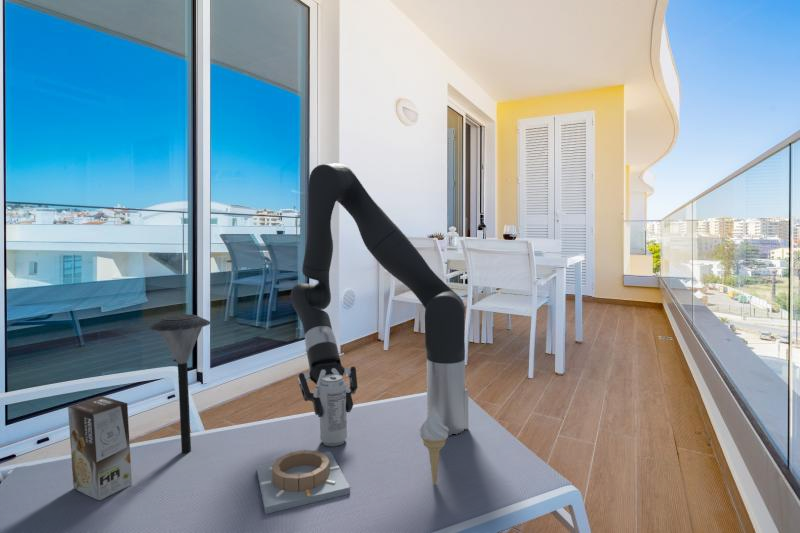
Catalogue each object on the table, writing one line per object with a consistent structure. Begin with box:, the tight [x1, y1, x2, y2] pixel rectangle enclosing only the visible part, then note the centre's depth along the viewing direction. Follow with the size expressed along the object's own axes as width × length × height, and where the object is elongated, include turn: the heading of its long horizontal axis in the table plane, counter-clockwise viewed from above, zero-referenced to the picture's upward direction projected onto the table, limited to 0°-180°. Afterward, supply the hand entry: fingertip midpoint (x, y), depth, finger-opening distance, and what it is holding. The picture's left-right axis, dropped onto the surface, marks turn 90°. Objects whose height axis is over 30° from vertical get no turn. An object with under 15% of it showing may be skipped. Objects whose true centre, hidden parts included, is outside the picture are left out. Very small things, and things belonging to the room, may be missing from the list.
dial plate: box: [256, 449, 351, 515], centre depth 86 cm, size 15×15×4 cm
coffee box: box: [67, 395, 133, 501], centre depth 85 cm, size 9×6×16 cm
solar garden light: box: [148, 313, 212, 454], centre depth 98 cm, size 12×12×30 cm
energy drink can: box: [319, 374, 348, 447], centre depth 102 cm, size 6×6×15 cm
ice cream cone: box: [419, 408, 449, 485], centre depth 84 cm, size 6×6×15 cm
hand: (335, 412), depth 101 cm, fingers closed on energy drink can, 6 cm apart
